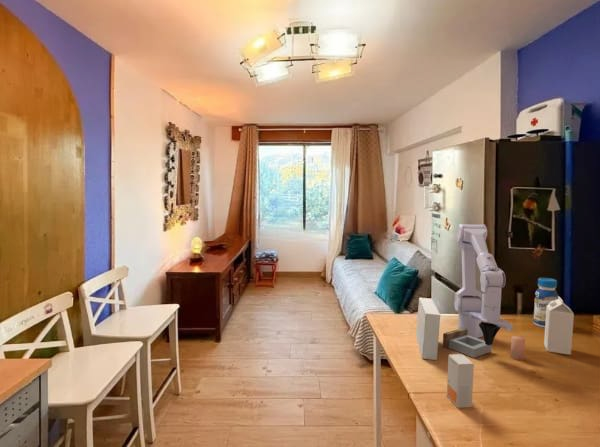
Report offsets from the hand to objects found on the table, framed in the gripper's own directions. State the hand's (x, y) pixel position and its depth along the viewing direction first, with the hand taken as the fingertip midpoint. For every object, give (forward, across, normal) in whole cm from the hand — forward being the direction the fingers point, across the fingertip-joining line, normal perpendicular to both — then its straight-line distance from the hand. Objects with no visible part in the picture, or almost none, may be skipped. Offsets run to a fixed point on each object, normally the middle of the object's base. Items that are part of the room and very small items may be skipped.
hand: (488, 344), depth 130 cm
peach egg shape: (+5, +5, +8) cm, 11 cm away
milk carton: (+5, +9, +28) cm, 30 cm away
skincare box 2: (+5, +13, -33) cm, 36 cm away
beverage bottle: (+5, -7, +52) cm, 53 cm away
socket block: (+5, -7, 0) cm, 8 cm away
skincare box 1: (+5, -16, -12) cm, 21 cm away
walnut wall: (+5, -13, 0) cm, 14 cm away
